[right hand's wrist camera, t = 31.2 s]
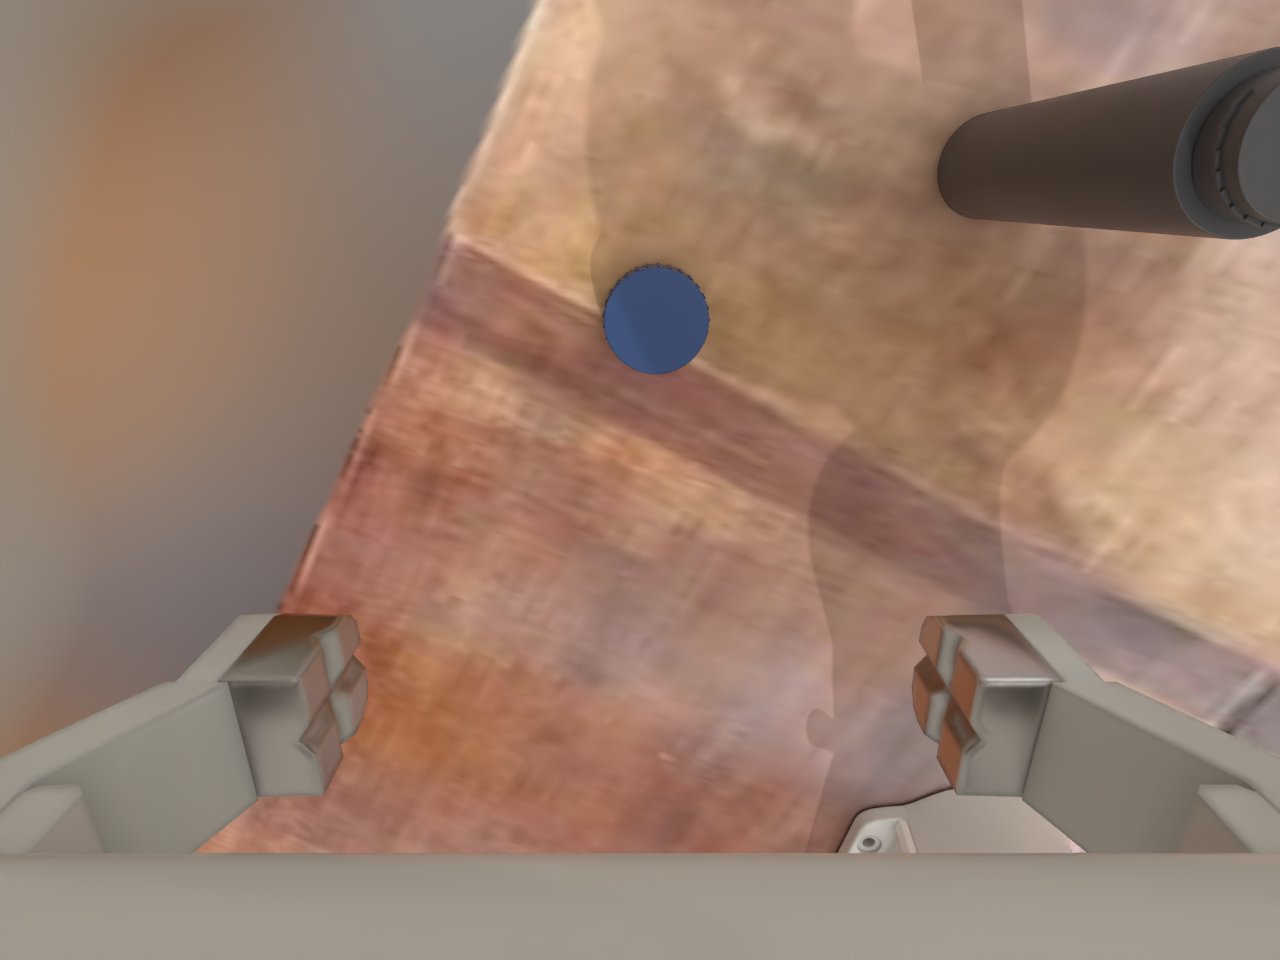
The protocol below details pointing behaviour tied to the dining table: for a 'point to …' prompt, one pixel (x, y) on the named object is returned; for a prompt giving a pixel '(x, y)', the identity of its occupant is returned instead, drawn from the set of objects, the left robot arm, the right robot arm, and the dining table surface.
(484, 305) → the dining table surface
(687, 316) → the lid
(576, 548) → the dining table surface
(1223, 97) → the dark grey bottle
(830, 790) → the dining table surface
